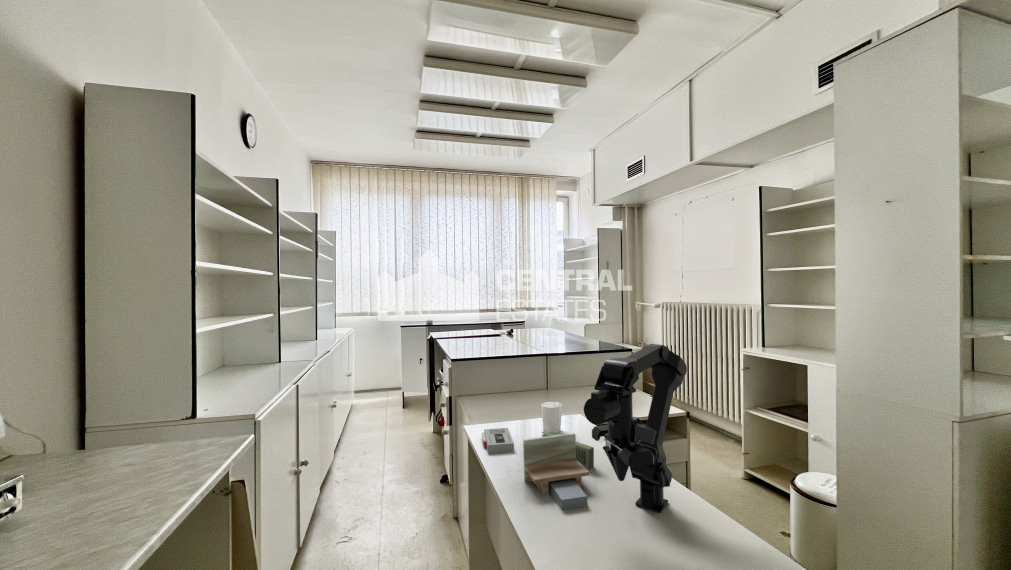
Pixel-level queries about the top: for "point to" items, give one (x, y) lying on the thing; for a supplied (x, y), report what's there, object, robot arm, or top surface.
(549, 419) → the white cup
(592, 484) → the top surface
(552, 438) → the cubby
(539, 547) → the top surface
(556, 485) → the grey chamfered block
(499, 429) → the cassette player
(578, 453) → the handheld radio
